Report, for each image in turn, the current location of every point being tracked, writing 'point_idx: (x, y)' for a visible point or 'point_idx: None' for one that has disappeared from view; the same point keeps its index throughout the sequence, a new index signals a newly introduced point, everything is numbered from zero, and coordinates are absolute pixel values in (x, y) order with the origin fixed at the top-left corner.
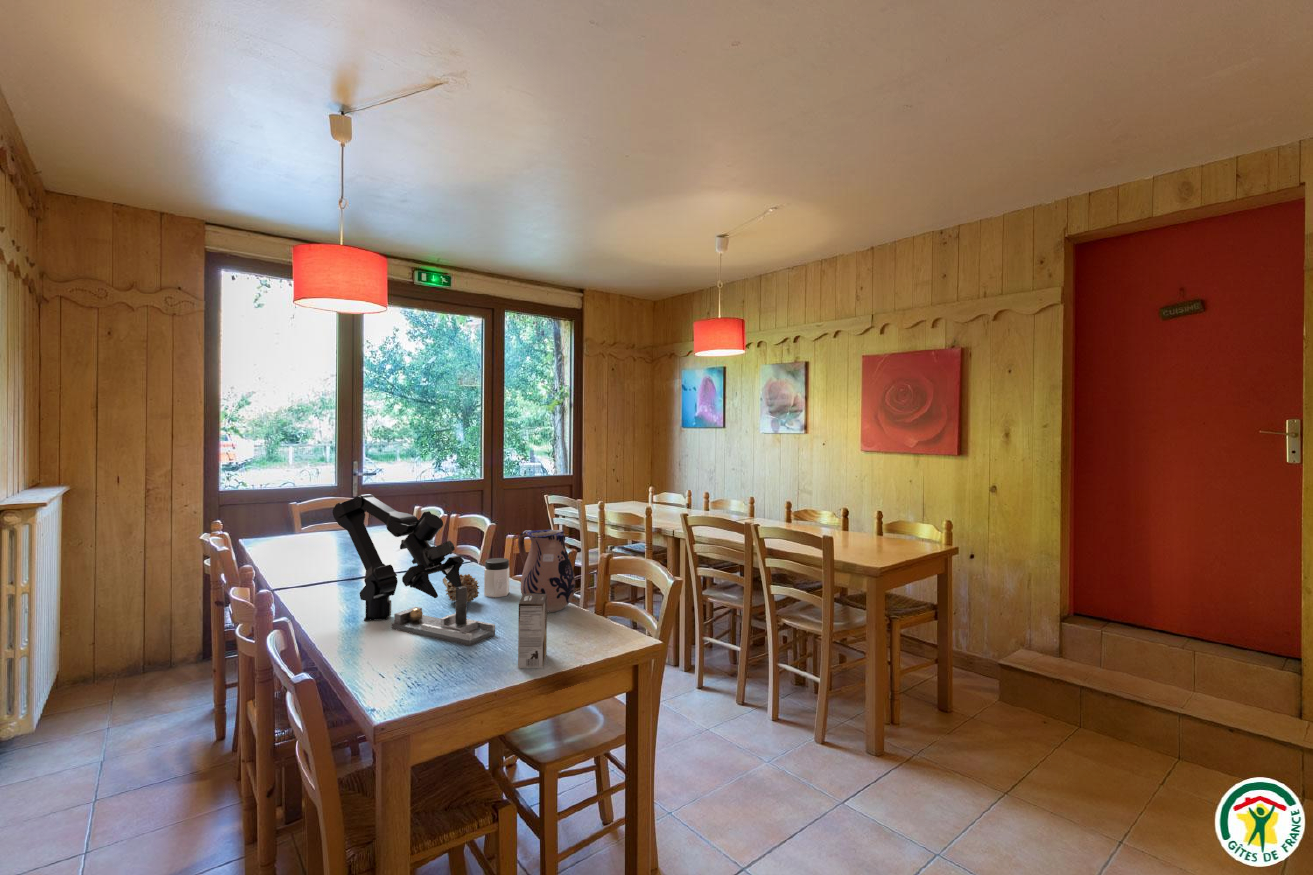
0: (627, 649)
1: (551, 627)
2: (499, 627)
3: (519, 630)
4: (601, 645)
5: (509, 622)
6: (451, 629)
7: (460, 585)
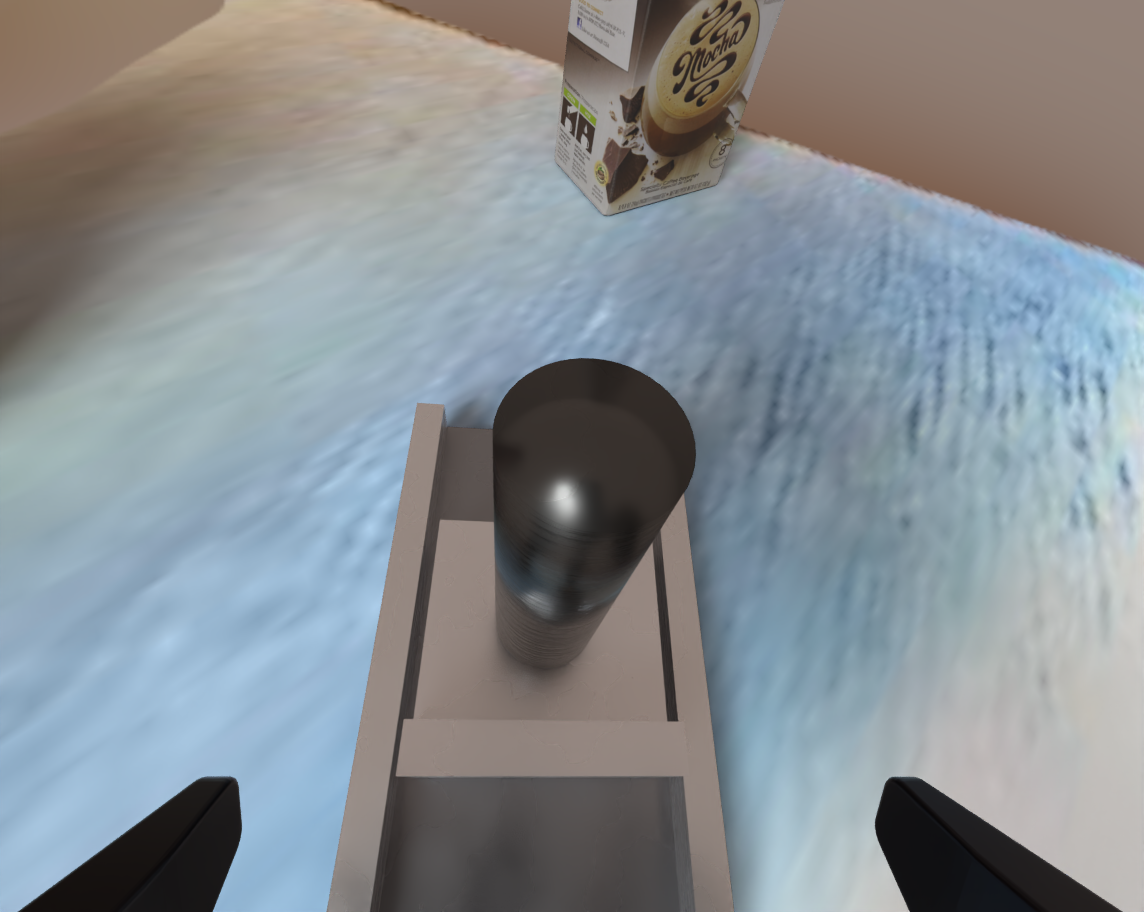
0: (386, 18)
1: (186, 259)
2: (263, 510)
3: (777, 10)
4: (378, 68)
5: (118, 515)
6: (668, 611)
7: (184, 823)
